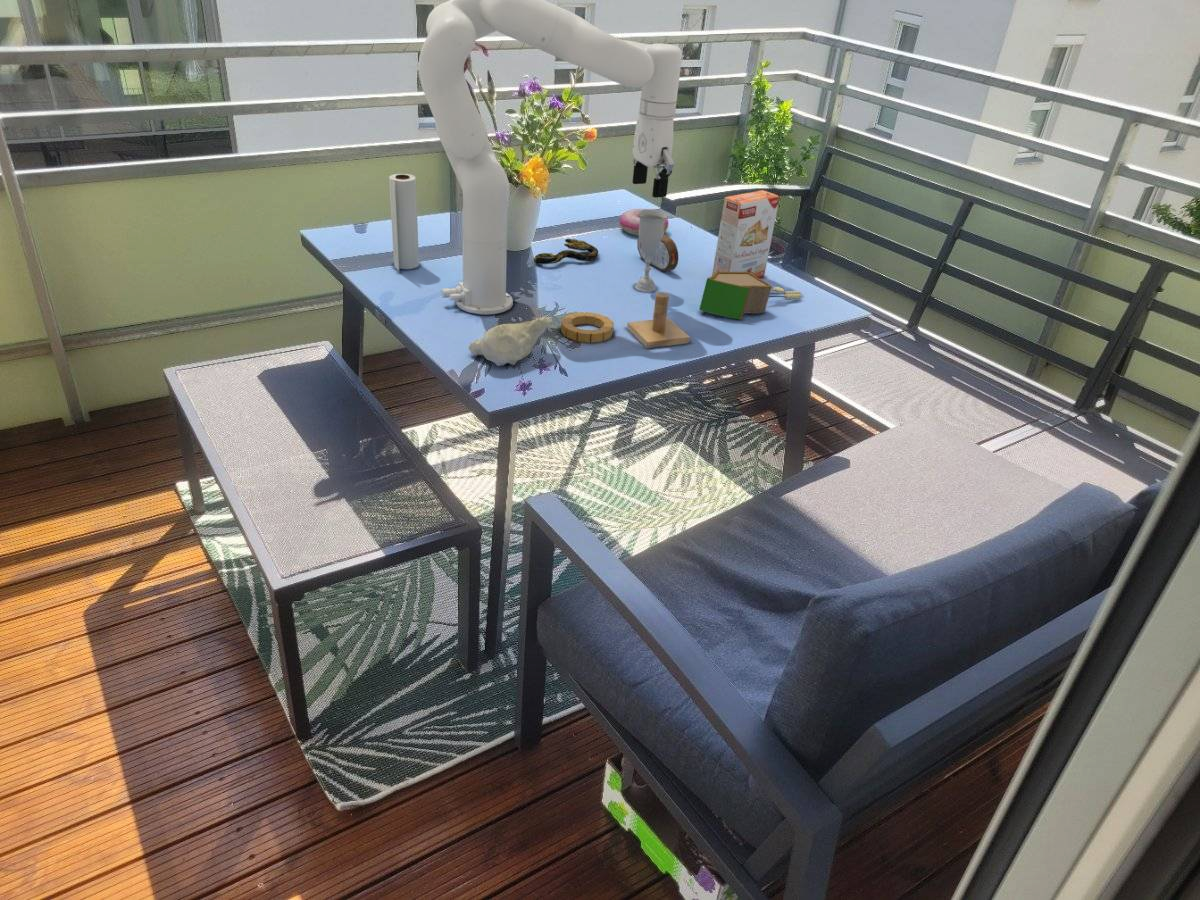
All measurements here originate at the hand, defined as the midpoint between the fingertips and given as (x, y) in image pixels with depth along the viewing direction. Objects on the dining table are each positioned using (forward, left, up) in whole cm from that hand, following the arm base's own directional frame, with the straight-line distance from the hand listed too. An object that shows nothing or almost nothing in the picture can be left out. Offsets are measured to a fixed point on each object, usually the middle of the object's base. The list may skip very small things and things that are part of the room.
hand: (649, 190), depth 199 cm
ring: (-19, -14, -25) cm, 35 cm away
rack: (-5, -20, -25) cm, 33 cm away
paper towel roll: (-48, +31, -25) cm, 62 cm away
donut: (+21, +42, -25) cm, 53 cm away
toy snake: (-8, +27, -25) cm, 38 cm away
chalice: (+4, +5, -25) cm, 26 cm away
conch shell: (-38, -21, -25) cm, 50 cm away
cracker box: (+30, +5, -25) cm, 40 cm away
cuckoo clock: (+25, -11, -25) cm, 37 cm away
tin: (+13, +18, -25) cm, 34 cm away
